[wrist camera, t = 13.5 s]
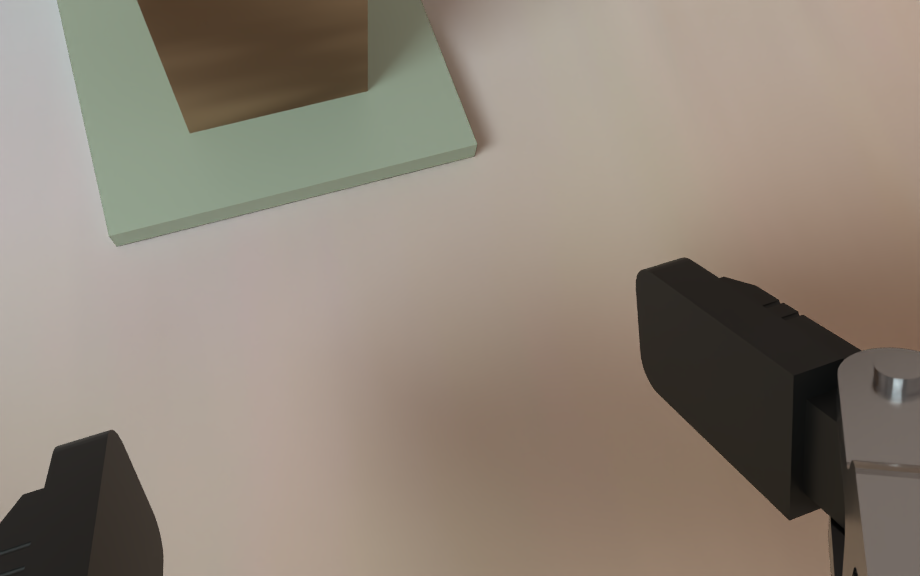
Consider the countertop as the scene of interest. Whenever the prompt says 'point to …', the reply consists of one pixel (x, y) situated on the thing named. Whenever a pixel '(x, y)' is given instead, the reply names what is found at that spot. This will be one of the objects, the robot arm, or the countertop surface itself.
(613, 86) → the countertop surface
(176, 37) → the walnut block
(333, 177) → the coaster
